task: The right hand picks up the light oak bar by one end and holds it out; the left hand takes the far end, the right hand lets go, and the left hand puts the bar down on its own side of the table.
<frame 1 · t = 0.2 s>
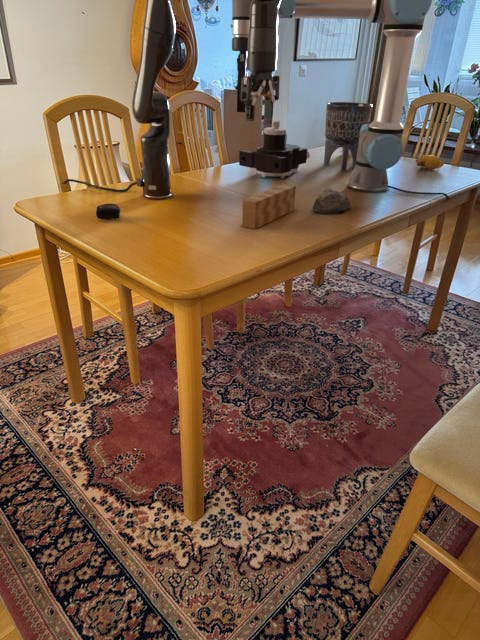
left hand: (259, 119, 123), 29 cm above the table, tool pointing down, fingers open, 8 cm apart
right hand: (242, 110, 155), 28 cm above the table, tool pointing down, fingers open, 13 cm apart
toy: (427, 168, 212), on the table
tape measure: (110, 219, 138), on the table
bar: (269, 217, 142), on the table
figurine: (348, 154, 238), on the table
mechanical component: (280, 173, 196), on the table
planter: (341, 167, 211), on the table
rock: (332, 210, 150), on the table
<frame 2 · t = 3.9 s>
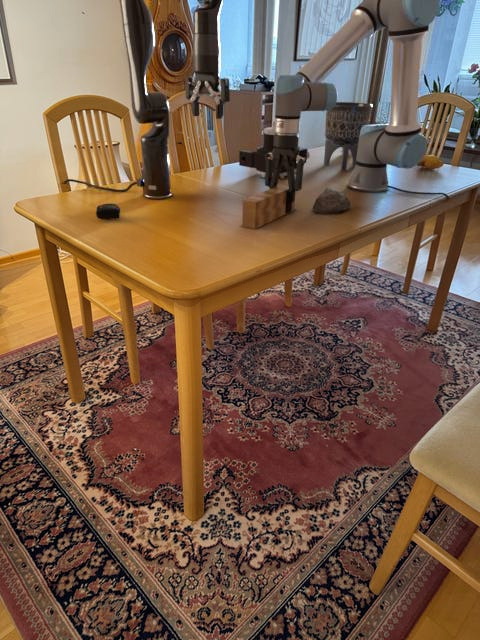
left hand: (207, 117, 134), 28 cm above the table, tool pointing down, fingers open, 8 cm apart
right hand: (281, 210, 147), 1 cm above the table, tool pointing down, fingers closed on bar, 5 cm apart
bar: (269, 217, 142), on the table, touching right hand
everything else where it was.
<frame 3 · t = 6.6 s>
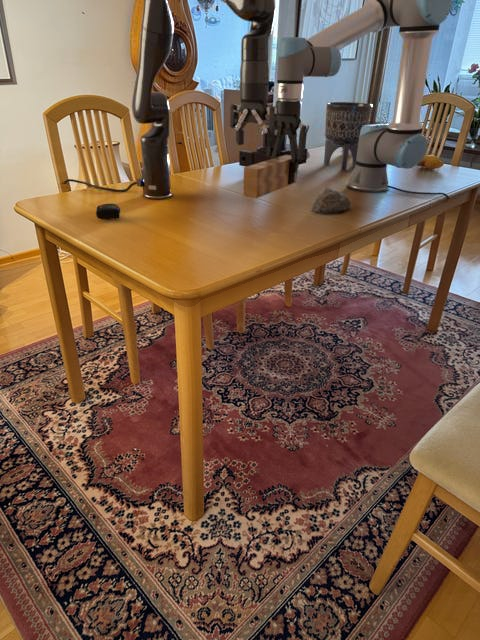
left hand: (253, 146, 127), 22 cm above the table, tool pointing down, fingers open, 8 cm apart
right hand: (283, 181, 143), 10 cm above the table, tool pointing down, fingers closed on bar, 5 cm apart
bar: (271, 188, 138), point 9 cm above the table, touching right hand
everything else where it was.
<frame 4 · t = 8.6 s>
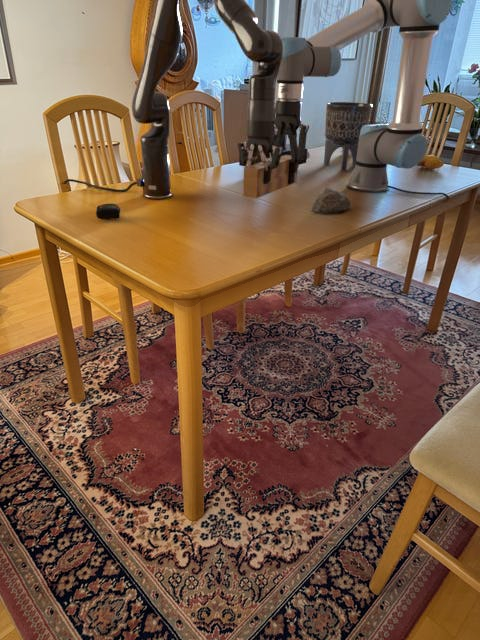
left hand: (258, 181, 131), 12 cm above the table, tool pointing down, fingers closed on bar, 4 cm apart
right hand: (283, 181, 143), 10 cm above the table, tool pointing down, fingers closed on bar, 5 cm apart
bar: (271, 188, 138), point 9 cm above the table, touching right hand, left hand
everything else where it was.
when the right hand's fingers open (10 cm above the table, at t = 9.3 s): bar stays where it is, held by the left hand.
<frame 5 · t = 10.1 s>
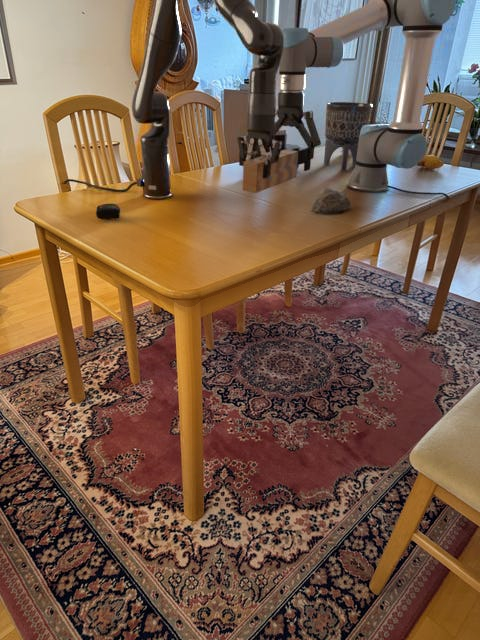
left hand: (258, 176, 130), 14 cm above the table, tool pointing down, fingers closed on bar, 4 cm apart
right hand: (287, 167, 141), 14 cm above the table, tool pointing down, fingers open, 13 cm apart
bar: (270, 183, 137), point 11 cm above the table, touching left hand
everything else where it was.
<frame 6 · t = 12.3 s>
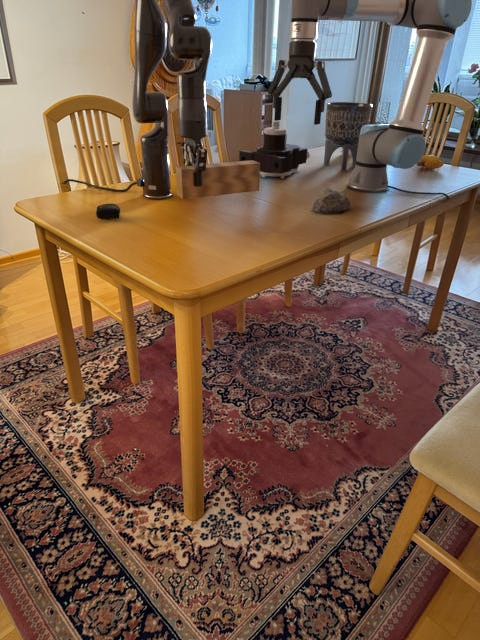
left hand: (194, 183, 126), 13 cm above the table, tool pointing down, fingers closed on bar, 4 cm apart
right hand: (296, 122, 139), 26 cm above the table, tool pointing down, fingers open, 13 cm apart
bar: (219, 193, 131), point 9 cm above the table, touching left hand
everything else where it was.
when the left hand's fingers open (4 cm above the table, at t = 13.8 s): bar stays where it is, on the table.
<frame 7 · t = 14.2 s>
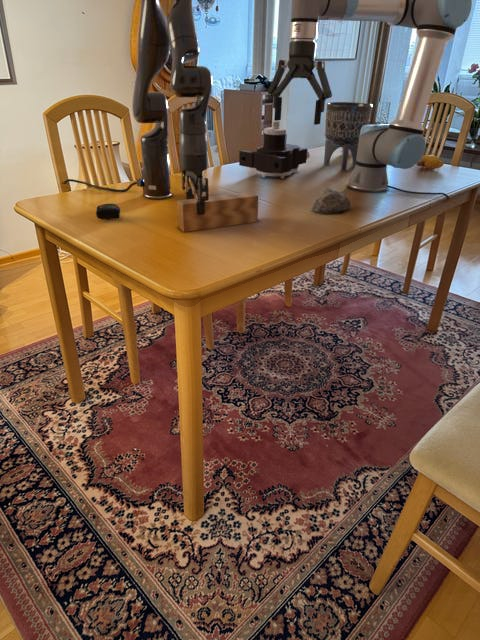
left hand: (195, 210, 130), 5 cm above the table, tool pointing down, fingers open, 8 cm apart
right hand: (296, 122, 139), 26 cm above the table, tool pointing down, fingers open, 13 cm apart
bar: (218, 224, 136), on the table
everything else where it was.
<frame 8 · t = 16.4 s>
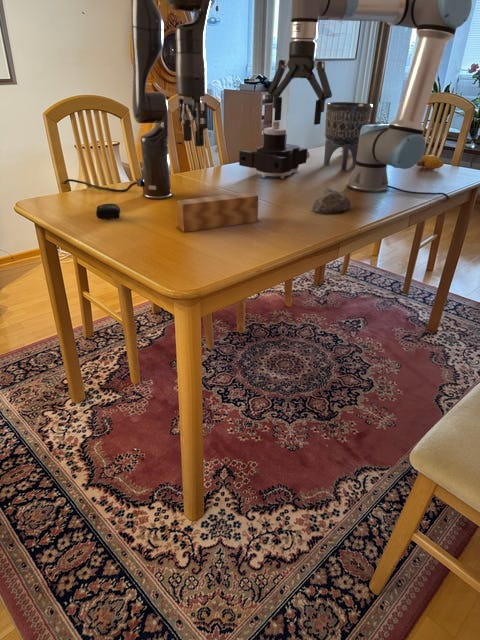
left hand: (193, 143, 121), 23 cm above the table, tool pointing down, fingers open, 8 cm apart
right hand: (296, 122, 139), 26 cm above the table, tool pointing down, fingers open, 13 cm apart
nothing on the table moved.
at the end: bar inside the target area (7.4 cm from its centre), on the table; the left hand is holding nothing; the right hand is holding nothing; bar at rest at the end (0.0 cm/s) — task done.
